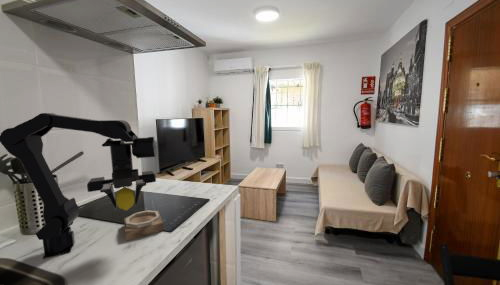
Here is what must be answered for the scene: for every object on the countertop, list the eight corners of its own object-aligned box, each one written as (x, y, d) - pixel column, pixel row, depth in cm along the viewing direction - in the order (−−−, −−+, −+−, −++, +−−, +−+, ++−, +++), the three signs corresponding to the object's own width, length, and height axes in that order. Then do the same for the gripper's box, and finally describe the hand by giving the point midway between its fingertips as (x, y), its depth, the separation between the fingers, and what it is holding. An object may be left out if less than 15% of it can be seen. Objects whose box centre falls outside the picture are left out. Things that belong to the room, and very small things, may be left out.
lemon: (132, 205, 76) (130, 183, 75) (138, 209, 72) (136, 186, 71) (114, 210, 72) (111, 187, 71) (120, 215, 68) (117, 191, 67)
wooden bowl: (125, 240, 73) (124, 228, 72) (124, 225, 83) (124, 214, 83) (163, 230, 79) (162, 219, 78) (158, 217, 89) (157, 207, 89)
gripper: (80, 168, 58) (87, 222, 60) (155, 160, 67) (159, 208, 69) (87, 161, 68) (93, 208, 70) (152, 154, 77) (155, 197, 79)
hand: (126, 205), depth 72 cm, fingers closed on lemon, 5 cm apart
